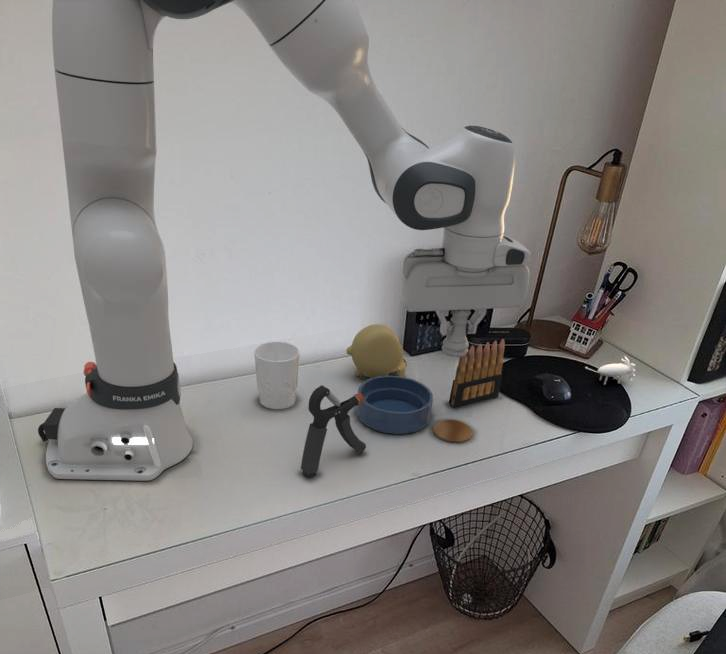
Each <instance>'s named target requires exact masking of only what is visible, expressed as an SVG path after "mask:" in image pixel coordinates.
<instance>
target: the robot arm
mask: <svg viewBox="0 0 726 654" xmlns="http://www.w3.org/2000/svg"><path fill="white" fill-rule="evenodd" d="M231 3H232V4H234V5H235V6H236V7H238V8H239V9H240V10H242V12H243V13H244V14H245V15H246V16H247V17H248V19H250V21H251V22H252V23H253V24H254V26H255V27H256V29H257V31H258V32H259V33H260V35H261V36H262V38H263V39H264V41H265V42H266V43H267V45H268V46H269V47H270V49H271V50H272V52H273V53H274V55H275V56H276V57H277V58H278V60H279V61H280V62H281V63H282V65H283V66H284V67H285V68H286V69H287V70H288V71H289V72H290V74H291V75H292V76H293V77H294V78H295V79H296V80H297V81H298V82H299V83H300V85H302V86H303V87H304V88H305V89H306V90H307V91H309V92H310V93H312V94H313V95H316V96H317V97H319V98H321V99H322V100H324V101H325V102H326V103H327V104H329V105H330V107H331V108H332V109H334V110H335V112H336V113H337V114H338V115H339V117H340V119H341V120H342V121H343V123H344V125H345V126H346V128H347V129H348V131H349V132H350V134H351V135H352V136H353V138H354V139H355V141H356V142H357V144H358V145H359V147H360V149H361V150H362V152H363V153H364V155H365V157H366V159H367V163H368V169H369V173H370V179H371V183H372V187H373V189H374V191H375V194H377V196H378V197H379V199H380V200H381V201H382V202H384V203H385V204H386V205H387V206H388V208H389V209H390V210H391V212H392V213H393V214H394V215H395V217H396V218H398V220H399V221H400V222H401V223H402V224H403V225H405V226H406V227H408V228H410V229H413V230H416V231H429V230H430V231H431V230H436V229H443V234H442V242H441V247H438V248H434V247H433V248H428V249H425V248H416V249H414V250H413V251H411V252H410V253H408V254H407V255H406V256H405V257H404V260H403V266H402V274H403V278H402V281H401V286H400V291H399V292H400V293H399V301H400V303H401V305H402V306H403V308H404V309H405V310H406V311H407V312H410V313H417V312H418V313H420V312H421V313H422V312H435V313H436V316H437V317H438V318H437V319H438V320H439V322H440V326H439V333H440V334H441V336H447V335H451V334H452V329H453V325H452V324H451V320H447V318H446V317H448V316H449V314H450V313H449V312H450V311H451V310H467V309H470V310H473V311H474V313H473V314H472V315H471V317H470V318H469V319H467V320H468V322H467V324H466V335H475V334H476V333H477V328H478V325H479V324H480V323H481V321H482V320H483V319H484V318H485V317H486V315H487V310H488V309H489V310H490V309H508V308H509V309H511V308H512V309H513V308H521V306H522V305H523V304H524V303H525V302H526V300H527V296H528V292H529V283H530V269H529V267H528V266H527V265H528V264H529V263H530V260H531V256H532V254H531V253H532V252H531V251H530V250H529V249H528V248H526V246H525V245H523V243H521V242H519V241H517V240H516V239H514V238H513V237H510V236H508V235H507V236H506V235H504V234H505V215H506V214H505V213H506V211H507V208H508V206H509V204H510V201H511V195H512V190H513V183H514V175H515V166H516V150H515V145H514V144H513V142H512V140H511V139H510V138H509V137H508V136H506V135H505V134H504V133H501V132H500V131H495V130H494V129H491V128H487V127H483V126H479V125H467V126H466V125H465V126H463V128H461V130H460V131H459V132H458V133H457V134H455V135H454V136H452V137H451V138H448V140H445V141H444V142H441V143H440V144H438V145H435V146H433V147H429V146H428V145H427V144H426V143H424V141H422V140H421V139H419V138H418V137H416V136H414V135H412V134H411V133H409V132H407V130H406V129H404V128H403V127H402V126H401V124H400V122H398V119H397V118H396V116H395V115H394V113H393V111H392V110H391V109H390V106H389V105H388V103H387V102H386V100H385V98H384V97H383V95H382V94H381V92H380V90H379V89H378V87H377V85H376V83H375V82H374V79H373V76H372V74H371V71H370V67H369V62H368V60H369V59H368V56H369V55H368V54H369V46H370V45H369V44H370V41H369V33H368V31H367V29H366V25H365V23H364V21H363V18H362V16H361V14H360V13H361V12H360V11H359V9H358V6H357V5H356V3H355V0H52V8H51V9H52V11H51V25H52V26H51V37H52V40H51V41H52V55H53V66H54V77H55V86H56V96H57V104H58V115H59V123H60V132H61V134H60V135H61V143H62V151H63V160H64V169H65V170H64V171H65V179H66V189H67V198H68V207H69V218H70V226H71V236H72V244H73V245H72V246H73V253H74V260H75V265H76V270H77V271H76V272H77V274H78V280H79V285H80V290H81V294H82V299H83V305H84V308H85V314H86V319H87V323H88V329H89V333H90V338H91V343H92V349H93V354H94V359H95V362H94V361H88V362H86V363H85V364H84V365H83V366H84V367H83V375H84V376H85V378H84V383H85V389H86V392H85V393H83V395H81V396H79V397H78V398H77V399H76V400H74V401H73V402H72V403H70V404H69V405H68V406H66V407H65V408H61V407H54V408H53V409H52V411H51V412H50V414H49V415H48V417H46V419H45V420H44V422H42V423H41V424H40V425H39V426H38V428H37V433H38V436H39V437H40V439H41V441H42V442H43V443H44V442H45V443H46V442H47V441H49V442H48V444H47V447H46V452H45V463H46V464H45V465H46V469H47V471H48V473H49V474H50V475H51V477H52V478H54V479H58V480H93V481H137V482H139V481H143V482H144V481H146V482H149V481H152V480H154V479H156V478H158V476H160V475H161V474H162V473H163V472H164V471H165V470H166V469H169V468H171V467H173V466H175V465H177V464H178V463H180V462H182V461H183V460H184V459H185V458H187V457H188V455H189V454H190V453H191V452H192V449H193V447H194V440H193V437H192V435H191V433H190V431H189V429H188V426H187V424H186V420H185V418H184V417H185V416H184V414H183V411H182V407H181V396H182V393H181V382H180V374H179V372H178V367H177V364H176V363H175V362H174V356H173V346H172V345H173V344H172V338H171V337H172V336H171V331H170V330H171V329H170V317H169V288H168V276H167V274H168V272H167V261H166V252H165V251H166V250H165V246H164V243H163V241H162V238H161V235H160V233H159V230H158V227H157V222H156V218H155V217H156V216H155V175H156V174H155V173H156V161H157V126H156V125H157V123H156V97H155V95H156V93H155V72H154V70H155V69H154V68H155V67H154V42H155V41H154V40H155V34H156V30H157V28H158V26H159V24H160V23H161V22H162V21H163V19H164V18H166V17H168V18H171V19H175V20H190V19H195V18H196V19H197V18H199V17H201V16H204V15H207V14H209V13H211V12H213V11H214V10H217V9H218V8H220V7H223V6H225V5H227V4H231Z"/></svg>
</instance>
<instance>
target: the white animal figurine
mask: <svg viewBox="0 0 726 654" xmlns="http://www.w3.org/2000/svg"><path fill="white" fill-rule="evenodd" d="M620 360H621V362H622V363H621V362H619V363H609V364H608V363H607V364H604V365H602V366H599V368H598V369H597V370H594V369H592V368H589V367H588V366H585V367H584V368H585V370H588V371H591V372H594V373H597V374H598V375H600V377H599V379H598V380H599V381H602V380H603V376H604V377H605V378H604V381H603V386H604V385H605V386H606V385H607V381H608V380H609V379H608V378H609V377H611V378H613V379H612V380H616V379H617V378H616V377H618V380H617V384H621V380H622V379H623V378H622V377H623V376H624V375H627V374H628V375H629V380H630V381H633V380H634V379H633V377H635V376H636V375H635V372H637V370H636V369H635V368H636V367H637V366H638V364H636V363H632V362H630V359H629V358H628V357H627V355H624V356H623V357H621V359H620Z"/></svg>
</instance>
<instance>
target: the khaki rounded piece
mask: <svg viewBox="0 0 726 654" xmlns="http://www.w3.org/2000/svg"><path fill="white" fill-rule="evenodd" d="M403 352H404V351H403V348H402V344H401V342H400V340H399V338H398V337H397V335H396V333H395V332H394V331H393V330H392V328H391V327H389V326H388V325H385V324H381V323H376V324H375V323H374V324H371V325H367V326H365V327H363V328H362V329H361V330H359V331H358V332H357V333H356V335H355V336H354V338H353V340H352V343H351V345H350V346H348V347H347V348H346V354H347V355H348V356H351V359H352V362H353V364H354V366H355V368H356V370H355V375H356V376H357V377H362V376H364V377H366V378H369V379H371V378H375V377H379V376H402V377H404V376H405V373H406V367H407V366H408V363H407V361H406V359H405V358H404V353H403Z"/></svg>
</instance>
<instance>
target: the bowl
mask: <svg viewBox="0 0 726 654" xmlns="http://www.w3.org/2000/svg"><path fill="white" fill-rule="evenodd" d="M357 393H361V394H362V395H363V397H364V402H363V403H362V404H360V405H357V406H356V416H357V418H358V420H359V421H360V422H361V423H362V424H363V425H364V426H366V427H368V428H370V429H372V430H373V431H377V432H380V433H385V434H392V435H393V434H395V435H402V434H412V433H415V432H418V431H421V430H422V429H424V428H425V427H427V426H428V424H429V422H430V421H431V415H432V410H433V409H432V408H433V403H434V398H433V397H434V396H433V393H432V391H431V389H430V388H429V387H428V386H426V385H425V384H424V383H422V382H420V381H418V380H416V379H413V378H410V377H405V376H379V377H375V378H369V379H366V380H365V381H363V382H362V383H361V384H360V385H359V386H358V389H357Z"/></svg>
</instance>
